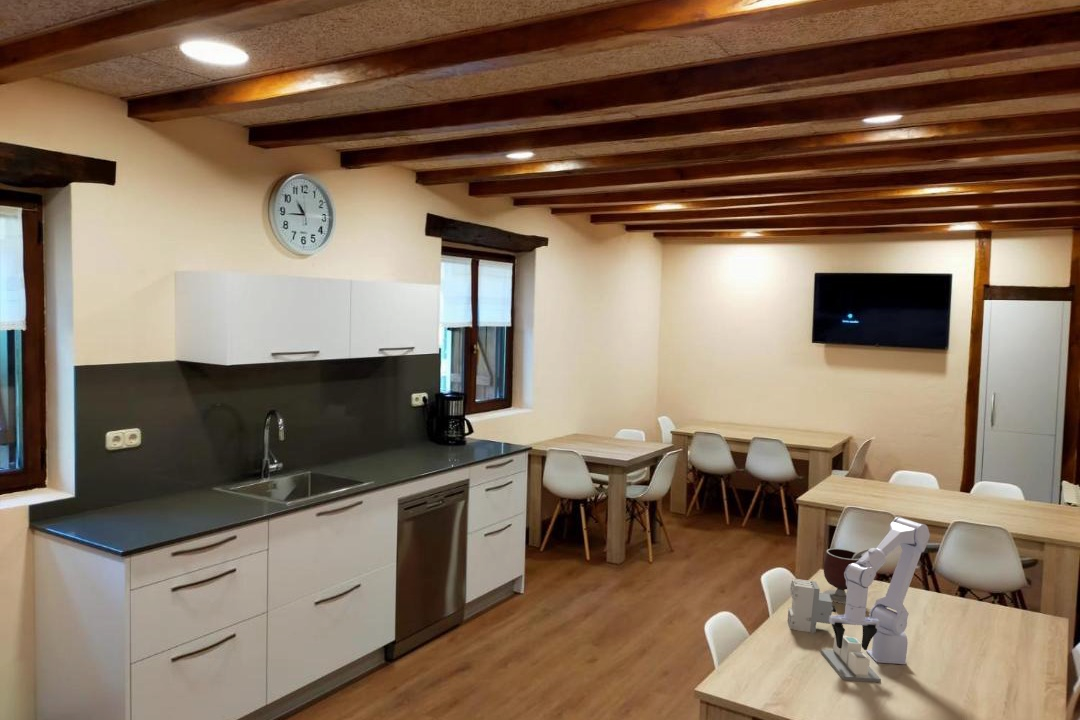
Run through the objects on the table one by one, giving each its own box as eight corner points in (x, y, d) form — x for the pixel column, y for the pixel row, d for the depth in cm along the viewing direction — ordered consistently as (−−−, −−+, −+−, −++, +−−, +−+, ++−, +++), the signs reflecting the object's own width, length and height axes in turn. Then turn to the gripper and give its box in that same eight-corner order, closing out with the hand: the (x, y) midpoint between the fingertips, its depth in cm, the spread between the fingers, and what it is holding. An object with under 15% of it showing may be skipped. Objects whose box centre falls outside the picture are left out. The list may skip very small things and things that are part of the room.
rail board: (855, 654, 244) (857, 635, 244) (880, 682, 226) (882, 661, 226) (820, 652, 244) (822, 632, 244) (843, 679, 226) (845, 658, 226)
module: (853, 657, 238) (855, 636, 237) (859, 664, 233) (861, 643, 233) (840, 657, 238) (842, 636, 237) (846, 663, 233) (848, 642, 233)
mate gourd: (824, 602, 289) (829, 549, 287) (817, 589, 302) (822, 538, 301) (868, 607, 286) (873, 554, 285) (859, 594, 300) (864, 543, 298)
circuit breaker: (834, 635, 258) (839, 591, 257) (789, 629, 261) (794, 585, 260) (830, 626, 265) (835, 584, 264) (787, 620, 268) (791, 578, 267)
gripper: (874, 600, 238) (869, 643, 239) (827, 597, 238) (822, 640, 239) (884, 609, 231) (879, 653, 232) (835, 606, 231) (831, 650, 232)
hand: (851, 647), depth 235 cm, fingers open, 7 cm apart
